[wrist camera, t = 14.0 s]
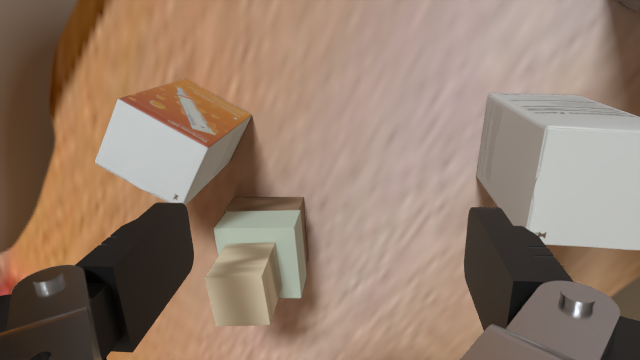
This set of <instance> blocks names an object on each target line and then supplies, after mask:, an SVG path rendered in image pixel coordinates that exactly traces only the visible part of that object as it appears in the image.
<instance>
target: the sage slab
mask: <svg viewBox="0 0 640 360" xmlns="http://www.w3.org/2000/svg"><path fill="white" fill-rule="evenodd" d="M214 234H215V240H216V246H217V251H218V256H219V255H220V253H221V251H222V250H223V248H224V246H225V245H226V244H241V243H261V242H275V243H276V249H277V255H278V262H279V268H280V274H281V280H282V288H281V292H280V295H279V298H301V297H302V293H303V289H304V285H305V281H306V277H307V274H306V264H305V253H304V243H303V232H302V222H301V212H300V210H282V211H236V212H226V213H225V214H224V215H223V217H222V218H221V219H220V221H219V222H218V223H217V225H216V226H215V228H214Z"/></svg>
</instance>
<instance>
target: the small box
mask: <svg viewBox="0 0 640 360" xmlns="http://www.w3.org/2000/svg"><path fill="white" fill-rule="evenodd" d="M251 116H252V115H251V114H249V113H247V112H245V111H243V110H241V109H239V108H237V107H235V106H234V105H232V104H230V103H228V102H226V101H224V100H223V99H221V98H219V97H217V96H215V95H213V94H212V93H210V92H208V91H206V90H205V89H203V88H201V87H199V86H198V85H196V84H194V83H192V82H191V81H189V80H187V79H183V80H179V81H176V82H173V83H169V84H166V85H162V86H159V87H156V88H153V89H149V90H146V91H143V92H139V93H136V94H132V95H129V96H126V97H122V98H119V99H118V100H117V103H116V106H115V108H114V111H113V114H112V117H111V119H110V122H109V125H108V128H107V130H106V133H105V136H104V138H103V141H102V144H101V146H100V149H99V152H98V154H97V157H96V160H95V163H96V164H97V165H99V166H101V167H102V168H104V169H106V170H108V171H110V172H112V173H113V174H115V175H117V176H119V177H121V178H123V179H124V180H126V181H128V182H130V183H131V184H133V185H134V186H136V187H138V188H140V189H142V190H144V191H146V192H148V193H151V194H153V195H155V196H157V197H159V198H161V199H163V200H165V201H167V202H169V203H183V204H184V205H186V204H187V203H188V202H189V201H190V200H191V199H192V198H193V197H194V196H195V195H196V194H197V193H198V192H199V191H200V190H202V189H203V188H204V187H205V186H206V185H207V184H208V183H209V182H210V181H211V180H212V179H213V178H214V177H215V176H216V175H217V174H218V173H219V172H220V171H221V170H222V169H223V168H224V167H225V166H226V165H227V164H228V163H229V161H230V159H231V157H232V155H233V153H234V151H235V149H236V147H237V145H238V143H239V141H240V139H241V137H242V135H243V133H244V131H245V129H246V127H247V124H248V122H249V120H250V118H251Z"/></svg>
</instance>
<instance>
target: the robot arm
mask: <svg viewBox="0 0 640 360" xmlns="http://www.w3.org/2000/svg"><path fill="white" fill-rule="evenodd" d="M618 1H619V2H621V3H622V4H623V5H624V6H626V7H628V8H630V9H633V10H635V11H640V0H618ZM193 260H194V250H193V243H192V237H191V231H190V224H189V218H188V212H187V208H186V206H185V205H184V204H183V203H155V204H154V205H153V206H152V207H150V208H149V209H148V210H147V211H146V212H145V213H143V214H142V215H141V216H140V217H139V218H137V219H136V220H134V221H132V222H130V223H127V224H125V225H123V226H121V227H120V228H119V229H118V230H117V231H115V232H114V233H113V234H112V235H111V237H108V238H107V239H106V240H105V241H103V242H102V243H101V245H99V246H97V247H96V248H95V249H94V250H93V251H91V252H90V253H89V254H88V255H87V256H85V257H84V258H83V259H82V260H81V261H79V262H78V263H77V264H76V265H61V266H55V267H50V268H47V269H43V270H40V271H38V272H35V273H33V274H31V275H29V276H27V277H25V278H24V279H22V280H21V281H20V282H18V283H17V284H16V285H15V286H14V288H13V290H12V293H11V294H10V295H3V296H0V360H107V355H108V354H109V353H110V352H111V351H116V352H133V351H134V350H135V348H136V347H137V346H138V344H139V343H140V341H141V340H142V339H143V337H144V336H145V334H146V333H147V332H148V330H149V329H150V327H151V326H152V325H153V323H154V322H155V320H156V319H157V318H158V316H159V315H160V313H161V312H162V311H163V309H164V308H165V306H166V305H167V304H168V302H169V301H170V299H171V298H172V297H173V295H174V294H175V293H176V291H177V290H178V288H179V287H180V286H181V284H182V283H183V281H184V280H185V279H186V277H187V276H188V274H189V273H190V271H191V269H192V266H193ZM464 272H465V279H466V283H467V286H468V288H469V291H470V294H471V297H472V299H473V302H474V305H475V308H476V310H477V313H478V316H479V319H480V321H481V324H482V327H483V330H484V332H483V333H482V334H481V336H480V337H479V338H478V339H477V340H476V341H475V343H474V344H473V345H472V346H471V347H470V349H469V350H468V351H467V352H466V353H465V354H464V356H463V357H462V358H461V359H460V360H640V321H636V320H632V319H628V318H625V317H622V316H620V310H619V308H618V306H617V304H616V303H615V302H614V301H613V300H612V299H611V298H610V297H608V296H607V295H606V294H604V293H602V292H600V291H599V290H596V289H594V288H592V287H589V286H587V285H583V284H580V283H575V282H574V281H573V280H572V279H571V278H570V276H569V275H568V274H567V272H566V271H565V270H564V269H563V267H562V266H561V265H560V263H559V262H558V261H557V260H556V258H553V254H552V253H551V252H550V250H549V249H546V245H545V244H544V243H543V241H542V240H541V239H540V238H539V236H538V235H536V234H535V233H533V232H531V231H530V230H528V229H526V228H525V227H523V226H513V224H512V223H511V222H510V220H509V219H508V217H507V216H506V214H505V213H504V211H503V210H502V209H501V208H486V207H472V208H471V209H470V211H469V216H468V225H467V236H466V247H465V257H464Z"/></svg>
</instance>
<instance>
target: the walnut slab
mask: <svg viewBox="0 0 640 360" xmlns="http://www.w3.org/2000/svg"><path fill="white" fill-rule="evenodd" d="M282 210H300V212H301V222H302V232H303V243H304V253H305V264H307V261H308V254H307V239H306V224H305V209H304V197H234V199H233V200H232V201H231V203H230V204H229V205H228V206H227V208H226V209H225V210H224V211H225V213H226V212H236V211H282Z"/></svg>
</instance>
